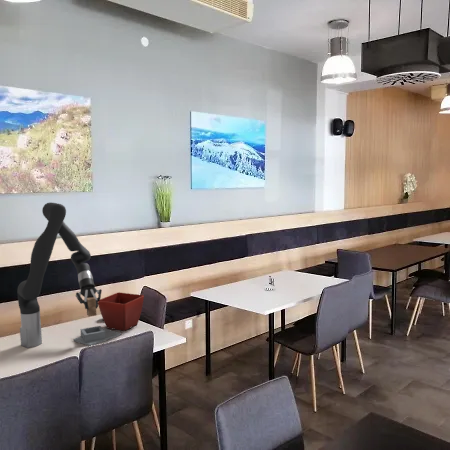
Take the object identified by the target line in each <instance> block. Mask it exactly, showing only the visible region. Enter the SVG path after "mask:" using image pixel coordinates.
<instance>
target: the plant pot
mask: <svg viewBox="0 0 450 450" xmlns="http://www.w3.org/2000/svg"><path fill="white" fill-rule="evenodd" d="M144 300H145V296H144V294H134V293H129V292H127V293H126V292H120V291H119V292H115V293H112V294H110V295H107V296H106V297H103V298H100V301H98V309H99V312H100V316H101V317H102V320H103V322H104V324H105V326H106V329H109V330H115V331H116V330H117V331H121V332H122V331H123V332H124V331H127V330H129V329H131V328H133V327H135V326H136V325H138V324H139V320H140V317H141V315H142V311H143V307H144V306H143V305H144Z"/></svg>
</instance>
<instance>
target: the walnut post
mask: <svg viewBox="0 0 450 450" xmlns="http://www.w3.org/2000/svg"><path fill="white" fill-rule="evenodd" d="M86 299H87V303H88V307H89V309H88V310H87V309H86V315H87V317H94V316H97V309H96V299H95V298H94V297H90V298H86Z"/></svg>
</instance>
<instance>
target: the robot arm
mask: <svg viewBox="0 0 450 450" xmlns="http://www.w3.org/2000/svg"><path fill="white" fill-rule="evenodd" d="M66 213H67V209H66V207H65V205H63V203H62V204H61V203H58V202H57V203H56V202H47V203H45V204H44V205H43V207H42V214H43V215H42V216H43V217H44V218H45V219H46V220H47V224H46V227H45V229H44V230H43V231H42V233H41V234H40V235H39V237H38V238H37V239H36V241H35V242H34V244H33V248H32V251H31V254H30V255H31V256H30V269H29V272H28V276H27V279H26V280H23V281H21V282H20V283H19V285H18V286H17V302H18V308H19V311H20V327H19V336H20V345H21V346H22V347H24V348H27V349H28V348H34V347H38V346H40V345H42V344H43V343H42V342H43V339H42V337H43V336H42V335H43V334H42V325H41V324H42V323H41V309H40V304H39V301H38V297H39V296H40V294H41V290H42V285H43V281H44V278H45V277H44V276H45V273H46V271H47V268H48V265H49V262H50V259H51V256H52V253H53V249H54V246H55V243H56V240H57V238H58V235H59V236H60V238H61V240H62V241H63V243H64V244H65V246H66V248H67V249H68V250H69V251H70V252H72V253H71V255H70V260H71V262H72V263H73V265H74V267H75V269H76V273H77V278H78V284H79V289H80V291H79V292H76V293H75V297H76V299H77V301H78V302H79V304H81V305H82V304H83V305H84V309H85V310H86V311H87V310H88V309H89V307H88V303H87V299H86V298H90V297H94V298H95V299H96V310H97V309H98V308H99V305H98V301H100V299H102V298H101V296H102V288H101V289H97V288H96V286H95V283H94V277H93V273H92V272H91V267H90V265H89V264H88V263H87V262H88V261H90V259H91V258H92V257H91V252H90V250H89V249H87V248H86V247H85V246H84V245H83V244H82V243H81V242H80V241H79V239H78V237H77V235H76V234H75V232H74V231H73V230H72V229H71V228H70V227H69V226H68V225H67V224H66V223H65V218H66V215H67V214H66ZM96 293H97V295H98V296H97V295H96ZM82 297H84V299H83V298H82Z"/></svg>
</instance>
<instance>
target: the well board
mask: <svg viewBox="0 0 450 450" xmlns="http://www.w3.org/2000/svg"><path fill="white" fill-rule="evenodd" d="M121 335H122V333H121V332H119V331H116V330H113V329H110V328H103V327H102V326H101V325H97V326H92V327H85V328H80V336H78V337H75V338H73V341H74V342H76V343H79V344H82V345H86V346H88V347H92V346H91V345H93V346H95V345H98V344H100V343H103V342H106V341H108V340H111V339H114V338H116V337H119V336H121Z"/></svg>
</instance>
